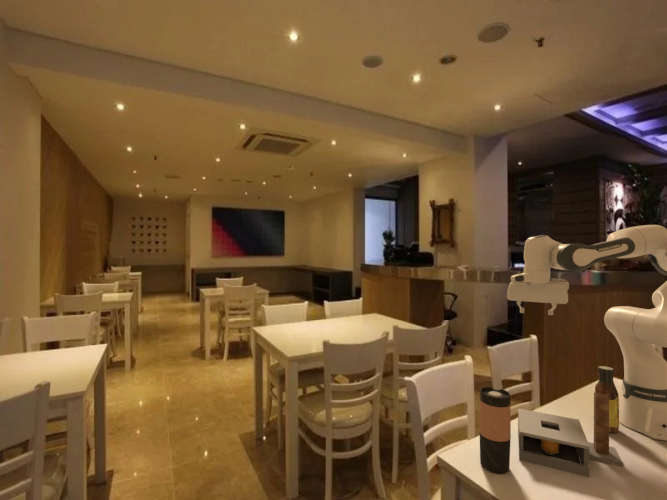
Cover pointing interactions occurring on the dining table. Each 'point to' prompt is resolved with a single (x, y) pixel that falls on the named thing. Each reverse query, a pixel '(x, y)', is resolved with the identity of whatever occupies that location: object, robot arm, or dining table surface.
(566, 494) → the dining table surface
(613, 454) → the pad
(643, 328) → the robot arm
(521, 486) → the dining table surface
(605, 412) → the brown wooden bar
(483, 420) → the travel mug
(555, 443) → the button
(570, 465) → the box
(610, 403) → the sauce bottle
